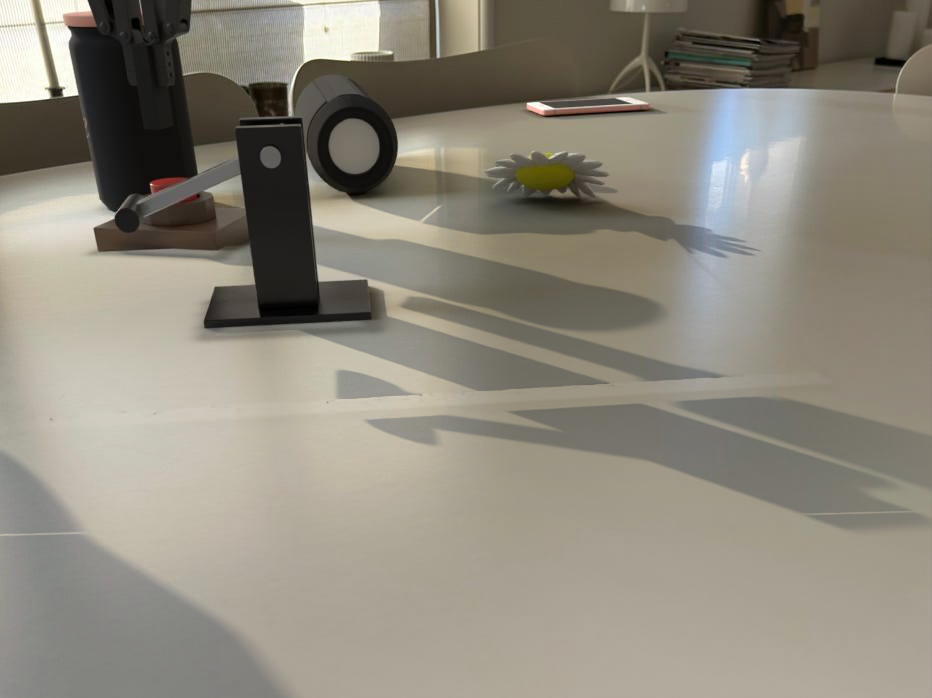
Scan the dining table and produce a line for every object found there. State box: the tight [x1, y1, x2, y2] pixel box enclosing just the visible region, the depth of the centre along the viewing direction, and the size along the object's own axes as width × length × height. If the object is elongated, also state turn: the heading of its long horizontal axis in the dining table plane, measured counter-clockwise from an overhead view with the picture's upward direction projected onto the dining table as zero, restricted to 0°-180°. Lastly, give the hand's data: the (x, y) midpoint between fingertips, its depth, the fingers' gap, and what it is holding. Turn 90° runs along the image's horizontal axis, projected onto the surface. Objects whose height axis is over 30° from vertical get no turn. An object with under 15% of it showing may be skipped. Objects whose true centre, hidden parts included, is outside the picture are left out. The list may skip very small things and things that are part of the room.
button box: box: [92, 190, 249, 253], centre depth 99 cm, size 12×10×4 cm
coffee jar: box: [62, 8, 199, 213], centre depth 110 cm, size 11×11×18 cm
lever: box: [113, 123, 284, 233], centre depth 75 cm, size 13×5×2 cm, turn 97°
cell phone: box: [526, 96, 650, 116], centre depth 170 cm, size 9×18×1 cm, turn 106°
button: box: [150, 178, 197, 202], centre depth 98 cm, size 4×4×2 cm
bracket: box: [203, 115, 373, 329], centre depth 77 cm, size 12×9×13 cm
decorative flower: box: [484, 150, 610, 199], centre depth 117 cm, size 13×5×30 cm
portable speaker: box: [294, 73, 399, 195], centre depth 123 cm, size 26×10×10 cm, turn 12°
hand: (159, 127), depth 95 cm, fingers closed
